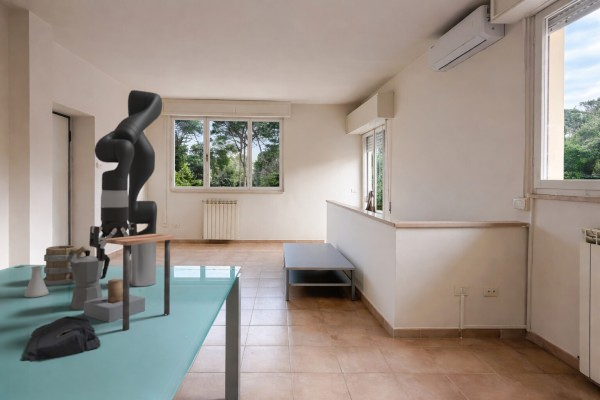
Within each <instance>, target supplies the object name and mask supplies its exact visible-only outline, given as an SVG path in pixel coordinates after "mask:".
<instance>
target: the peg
mask: <svg viewBox="0 0 600 400" xmlns="http://www.w3.org/2000/svg"><path fill="white" fill-rule="evenodd" d="M107 296H108V303H112V304H113V303H117V302H120V301H123V278H112V279H109V280H108V281H107Z"/></svg>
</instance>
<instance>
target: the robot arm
mask: <svg viewBox="0 0 600 400" xmlns="http://www.w3.org/2000/svg"><path fill="white" fill-rule="evenodd" d="M127 97H128V98H127V113H128V114H127V115H128V116H127V117H125V118H124V119H122V120H121V121H120V122H119V123H118V125H117V126H116V127H115V129H114V130H112V131H110V132H109V133H107V134H105V135H104V136H102V137H101V138H100V139H99V140H98V141H97V142H96V144H95V146H94V154H95V155H94V156H95V157H96V158H97V159H98V160H99V161H100V162H102V163H107V164H108V163H111V164H117V166H116V167H115V168H113V169H111V170H105V171H104V172H102V174H101V194H100V195H101V196H100V222H101V224H100V226H95V225H91V226H90V227H89V246H90V248H95V249H96V254H95V255H96V256H95V257H96V258H97V259H98V261H104V262H105V254H106V253H105V251H106V250H105V247H106V245H107V244H108V243H105V239H111V238H120V237H129V236H138V235H147V234H157V220H158V219H157V217H158V205H157V203H156V202H155V201H154V200H137V199H138V196H139V195H140V192H141V190H142V189H143V188H144V186H145V184H146V183H147V182H148V180H149V179H150V178H151V177H152V175H153V173H154V172H155V167H156V166H155V165H156V164H155V163H156V153H155V149H154V147H153V145H152V143H151V142H150V140H149V139H148V137H147V135H146V134H145V132H144V131H145V130H146V129H147V128H148V127H149V126H150V125H152V124H153V123H154V122H155V121H156V120H157V119H158V118H159V116H160V115H161V113H162V110H163V100H162V97H161V95H160V94H158V93H156V92H151V91H145V90H144V91H143V90H135V89H134V90H133V89H132V90H131V91H129V93H128V96H127ZM145 224H146V225H147V226H146V227H145V228H144V229H142V230H139V231H138V225H145ZM127 232H128V233H127ZM100 233H101V234H100ZM156 281H157V241H156V242H149V243H141V244H134V245H130V273H129V285H130V286H133V287H148V286H152V285H155V284H156Z"/></svg>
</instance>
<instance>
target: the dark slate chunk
mask: <svg viewBox="0 0 600 400" xmlns="http://www.w3.org/2000/svg"><path fill="white" fill-rule="evenodd" d="M30 336H31V337H30V339H29V340H28V342H27V344H26V348H25V351H24V355H23V357H22V362H23V361H24V362H26V361H29V362H30V363H33V362H37V361H38V362H39V361H42V360H47V359H58V358H59V359H60V358H64V357H67V356H73V355H79V354H81V353H84V352H90V350H95V349H96V350H97V349H98V348H100V347H101V340H100V338H99V337H98V336H97V334H96V332H95V328H94V327H93V326H92V324H91V321H90V319H89V318H88V316H70V315H68V316H67V315H66V316H63V317H60V318H58V319H55V320H53V321H51V322H50V323H46V324H44V325H41V326H39V327H37V328H35V329H34V331H32V333H31V335H30Z"/></svg>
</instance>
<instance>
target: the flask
mask: <svg viewBox="0 0 600 400" xmlns="http://www.w3.org/2000/svg"><path fill="white" fill-rule="evenodd" d="M30 269H31V276H30V280H29V282H28V285H27V287H26V289H25V292H24V294H23V296H24V298H40V297H44V296H48V295H50V292H49V290H48V287H47V285H45V283H44V280H43V279H44V277H43V274H42V269H43V266H41V265H40V266H38V265H37V266H31V268H30Z"/></svg>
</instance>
